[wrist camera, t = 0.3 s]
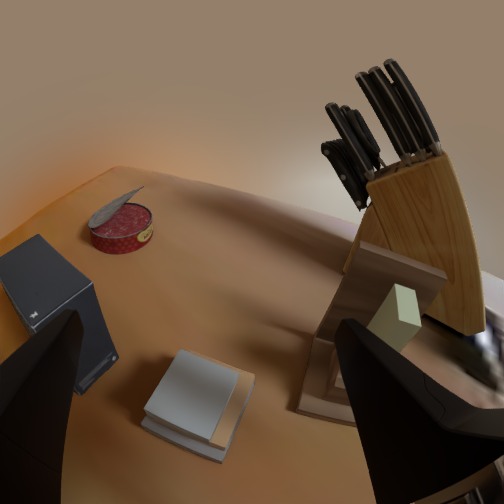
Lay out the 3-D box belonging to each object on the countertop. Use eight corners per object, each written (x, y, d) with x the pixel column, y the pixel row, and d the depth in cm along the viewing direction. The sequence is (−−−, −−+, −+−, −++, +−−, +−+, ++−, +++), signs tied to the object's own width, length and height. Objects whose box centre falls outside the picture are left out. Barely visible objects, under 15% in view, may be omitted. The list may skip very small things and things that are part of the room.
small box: (123, 356, 23) (97, 279, 17) (81, 398, 19) (30, 332, 12) (66, 303, 26) (39, 229, 20) (28, 335, 22) (-12, 262, 15)
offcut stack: (221, 464, 17) (225, 455, 14) (144, 429, 18) (131, 412, 15) (252, 389, 23) (261, 365, 20) (183, 362, 24) (181, 334, 22)
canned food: (120, 280, 37) (81, 246, 29) (99, 241, 42) (65, 206, 33) (177, 232, 40) (150, 188, 32) (148, 199, 45) (123, 158, 36)
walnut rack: (379, 430, 20) (470, 360, 13) (294, 412, 22) (359, 330, 14) (383, 354, 28) (444, 271, 20) (314, 334, 30) (360, 240, 22)
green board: (356, 395, 23) (421, 326, 16) (338, 391, 23) (399, 319, 16) (360, 363, 26) (414, 290, 19) (343, 358, 26) (394, 283, 20)
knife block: (311, 221, 50) (354, 56, 32) (469, 302, 38) (545, 154, 20) (284, 247, 42) (335, 39, 24) (473, 345, 30) (576, 169, 11)
